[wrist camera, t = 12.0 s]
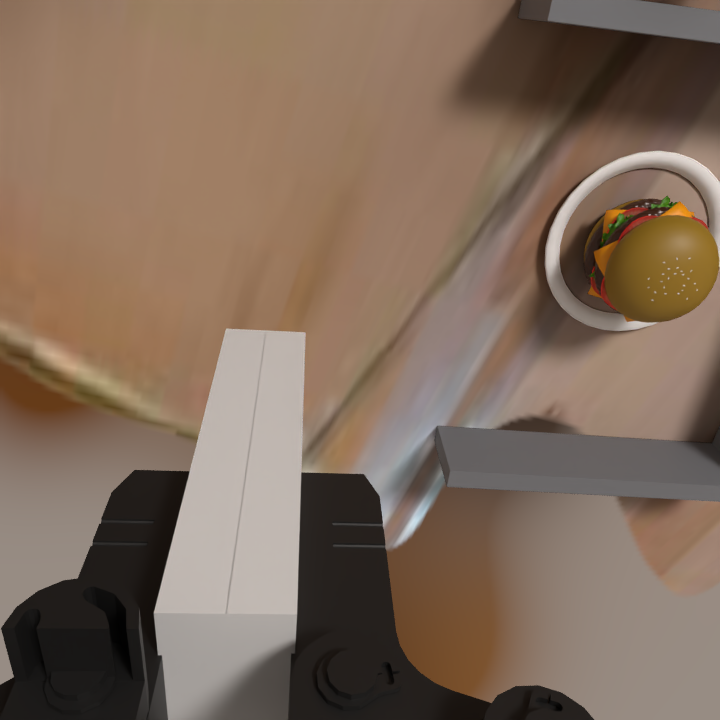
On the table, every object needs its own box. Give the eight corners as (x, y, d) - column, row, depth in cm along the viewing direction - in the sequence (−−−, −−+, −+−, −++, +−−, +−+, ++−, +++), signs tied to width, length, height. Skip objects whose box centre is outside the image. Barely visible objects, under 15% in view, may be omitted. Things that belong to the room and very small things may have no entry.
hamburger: (802, 174, 32) (889, 205, 27) (656, 378, 37) (707, 434, 32) (592, 65, 29) (648, 78, 24) (464, 301, 34) (489, 351, 29)
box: (523, -10, 27) (554, -12, 24) (906, 41, 29) (988, 47, 25) (434, 441, 37) (446, 486, 34) (722, 458, 39) (762, 504, 36)
